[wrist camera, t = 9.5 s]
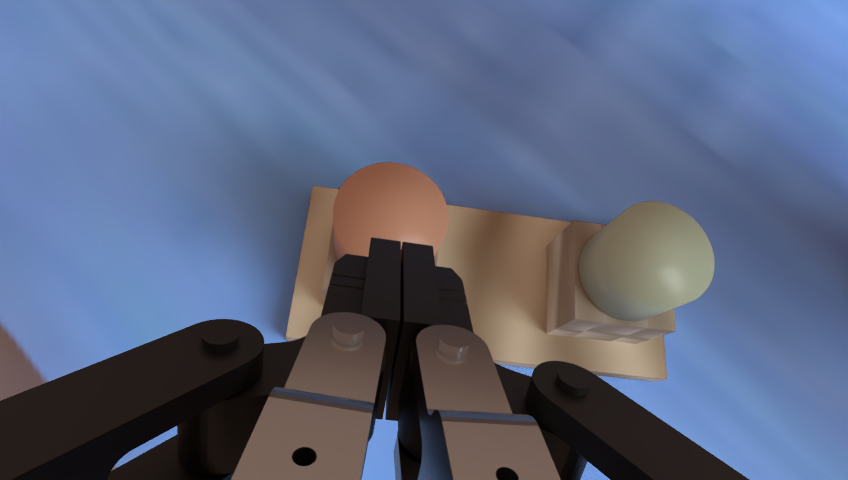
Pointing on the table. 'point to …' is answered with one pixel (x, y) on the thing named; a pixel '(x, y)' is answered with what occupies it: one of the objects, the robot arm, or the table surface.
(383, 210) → the brown rounded piece
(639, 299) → the pale green rounded knob
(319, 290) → the button board
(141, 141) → the table surface
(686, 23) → the table surface
